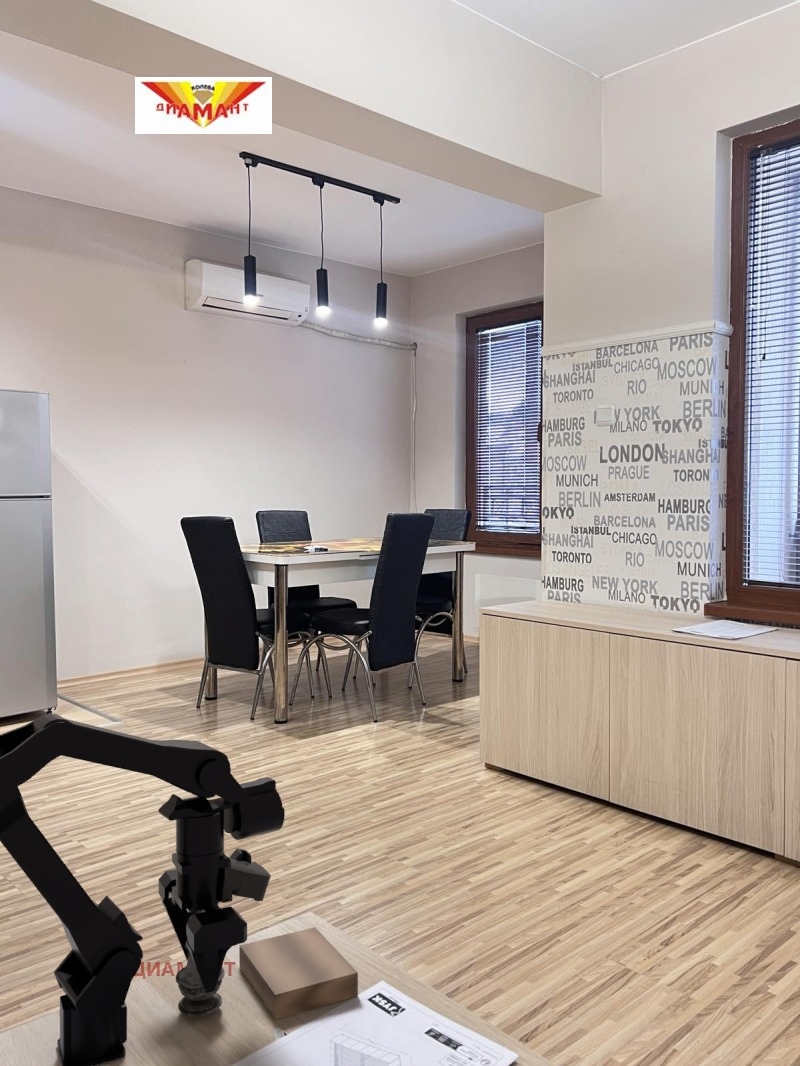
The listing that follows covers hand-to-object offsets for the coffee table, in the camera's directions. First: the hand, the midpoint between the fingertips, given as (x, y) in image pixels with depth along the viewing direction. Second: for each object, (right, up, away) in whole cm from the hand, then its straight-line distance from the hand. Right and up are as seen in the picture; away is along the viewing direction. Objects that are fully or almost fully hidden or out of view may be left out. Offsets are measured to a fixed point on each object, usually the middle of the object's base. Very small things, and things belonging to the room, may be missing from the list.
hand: (200, 975), depth 105 cm
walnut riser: (+11, -4, +7) cm, 14 cm away
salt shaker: (0, -4, 0) cm, 4 cm away
